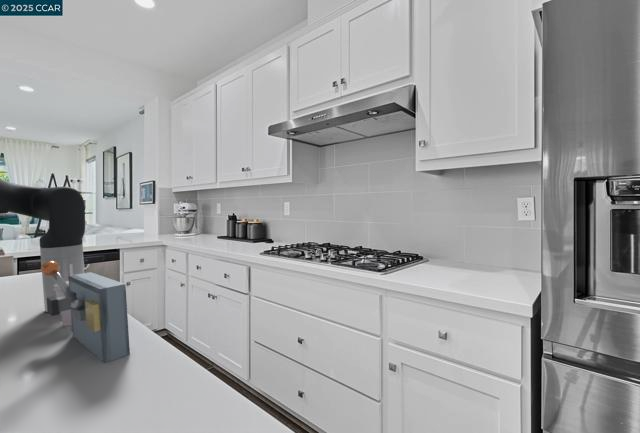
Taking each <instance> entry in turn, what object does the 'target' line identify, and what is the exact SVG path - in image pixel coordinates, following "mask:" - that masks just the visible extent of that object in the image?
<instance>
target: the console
mask: <svg viewBox="0 0 640 433" xmlns="http://www.w3.org/2000/svg"><path fill="white" fill-rule="evenodd" d="M68 277H69V288H70V289H71V290H72V292H73V293H74V294H75V296H76V297H77V298H78V299H80V300H82V301H83V302H84V306H83V308H81V309H80V310H75V309H71V318H72V325H71V328H72V330H71V331H72V337H73V338H74V339H76V340H77V341H78V342H79V343H80V344H81V345H83V346H84V347H85V348H87V350H89V351H90V352H91V353H92V354H94V355H95V356H96V357H97V358H98V359H99V360H100V361H102V362H103V363H104V364H106V363H109V362H112V361H114V360H117V359H122V358H123V357H126V356H129V355H131V351H130V339H129V338H130V336H129V332H130V331H129V321H128V320H129V318H128V317H129V316H128V302H127V290H126V289H127V287H126V283H124V282H120V281H118V280H115V279H111V278H109V277H105V276H102V275H100V274H98V273H95V272H88V271H87V272H85V273H82V274H76V275H70V276H68ZM87 300H93V301H95V302H97V303H99V304H100V316H101V330H99V331H96V332H94V331H93V330H92V329H90V328H89V327H87V325H86V311H85V301H87Z"/></svg>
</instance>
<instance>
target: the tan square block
mask: <svg viewBox="0 0 640 433" xmlns="http://www.w3.org/2000/svg"><path fill="white" fill-rule="evenodd" d="M85 311H86V325H87V327H89V328H90V329H92V330H93V331H94V332H96V331H99V330H101V316H100V304H99V303H97V302H95V301H93V300H87V301H85Z"/></svg>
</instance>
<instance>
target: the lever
mask: <svg viewBox="0 0 640 433" xmlns="http://www.w3.org/2000/svg"><path fill="white" fill-rule="evenodd" d="M40 266H41V265H40ZM59 268H60V267H59V264H58V263H57V262H54V261H48V262H45V263H44V264H43V265H42V266H41V267H40V271H41V274H42V273H43V274H45V275H48V276H51V277H52V278H53V280H54V281H55V282H56V284H57V285H58V286H59V288H60V289H61V290H62V292H63V293H64V294H65V296H66V297H67V298H68V300H69V301H70V302H69V306H70V307H72V308H73V309H75V310H80V309H81V308H83V306H84V302H83V301H82V300H80V299H78V298H77V297H76V296H75V294H74V293H73V292H72V290H71V289H70V288H69V286H68V285H67V283H66V282H65V281H64V279H63V278H62V277H61V275H60V274H59V272H58V271H59Z"/></svg>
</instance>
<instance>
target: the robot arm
mask: <svg viewBox="0 0 640 433" xmlns="http://www.w3.org/2000/svg"><path fill="white" fill-rule="evenodd" d="M85 205H86V204H85V200H84V197H83V195H82V194H81V193H80V192H79V191H78V190H77V189H75V188H74V187H70V186H56V187H54V186H53V187H38V186H37V187H36V186H30V185H29V186H28V185H23V184H18V183H14V182H9V181H7V180H5V179H2V178H1V177H0V215H1V214H2V215H3V214H8V213H12V214H13V213H14V214H16V215H17V214H18V215H22V216H25V217H30V218H34V219H37V220H43V221H46V222H48V229H47V231H46V232H45V234H43V235H42V236H40V238H39V250H40V263H41V265H40V266H42V265H43V264H44V263H45V262H48V261H54V262H57V263H58V264H59V267H60V268H59V271H58V272H59V274H60V275H61V277H62V278H63V279H64V281H69V277H68V276H70V265H71V264H72V266H73V275H76V274H82V273H86V272H85V260H84V259H85V258H84V249H83V248H84V246H83V237H84V236H85V233H86V206H85ZM41 276H42V289H43V303H44V312H45V313H48V310H47V297H52V296H53V297H55V298H57V296H56V291H55V290H53V289H54V287H53V285H55V284H56V282H55V281H54V280H53V278H52V277H51V276H48V275H45V274H43V273H42V272H41Z"/></svg>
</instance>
